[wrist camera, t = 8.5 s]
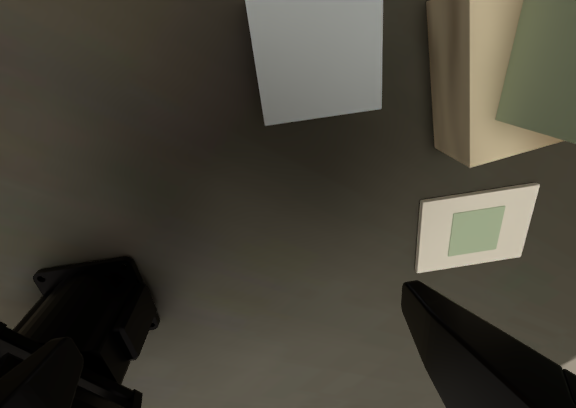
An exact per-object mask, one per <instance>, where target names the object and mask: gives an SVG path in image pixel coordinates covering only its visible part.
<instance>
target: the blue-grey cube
mask: <svg viewBox="0 0 576 408" xmlns="http://www.w3.org/2000/svg"><path fill="white" fill-rule="evenodd" d="M245 3H246V9H247V16H248V22H249V28H250V35H251V41H252V47H253V54H254V60H255V66H256V73H257V79H258V85H259V92H260V98H261V104H262V111H263V117H264V123H265V126H268V125H275V124H282V123H288V122H295V121H302V120H309V119H316V118H323V117H330V116H337V115H343V114H350V113H357V112H364V111H371V110H378V109H382V41H383V0H245Z"/></svg>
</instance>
